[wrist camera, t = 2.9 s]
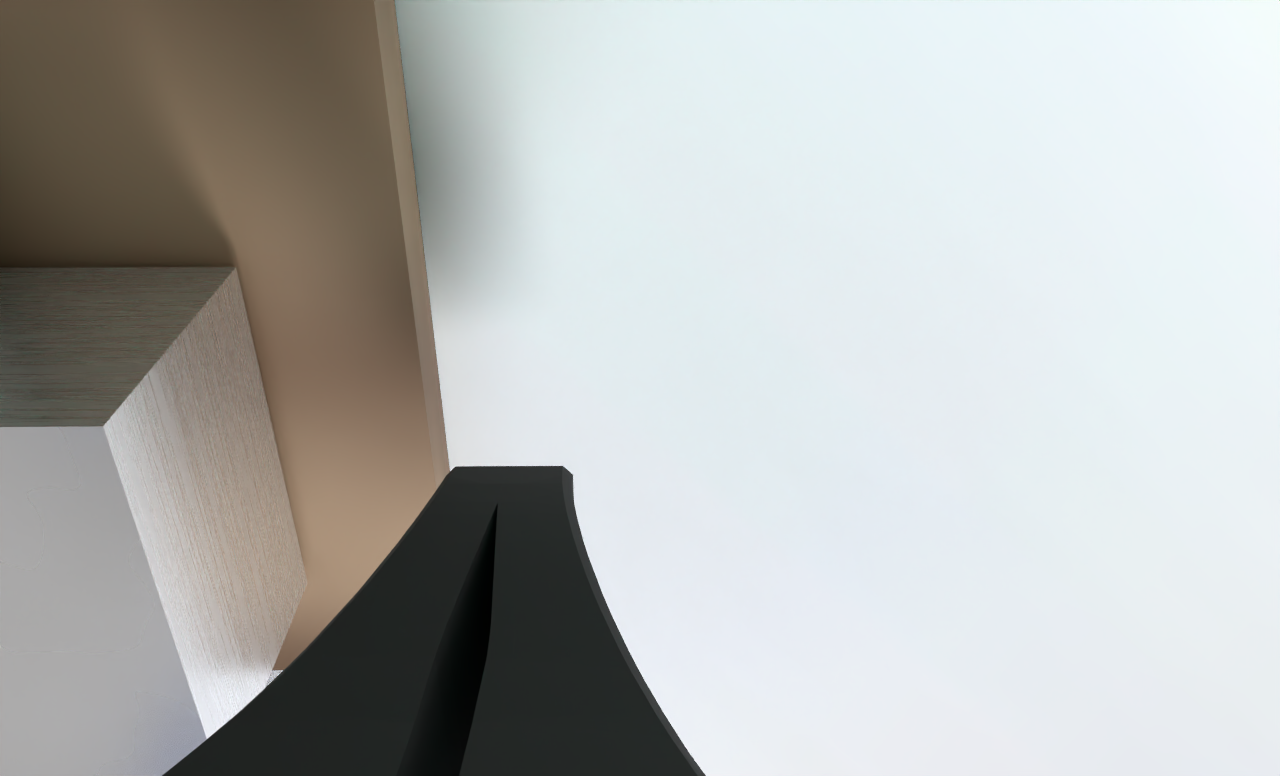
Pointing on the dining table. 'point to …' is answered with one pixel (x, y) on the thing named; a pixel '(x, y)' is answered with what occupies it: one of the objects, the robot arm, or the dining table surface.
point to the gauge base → (251, 226)
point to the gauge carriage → (134, 518)
